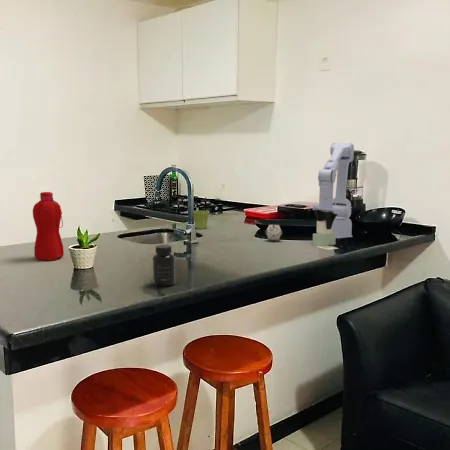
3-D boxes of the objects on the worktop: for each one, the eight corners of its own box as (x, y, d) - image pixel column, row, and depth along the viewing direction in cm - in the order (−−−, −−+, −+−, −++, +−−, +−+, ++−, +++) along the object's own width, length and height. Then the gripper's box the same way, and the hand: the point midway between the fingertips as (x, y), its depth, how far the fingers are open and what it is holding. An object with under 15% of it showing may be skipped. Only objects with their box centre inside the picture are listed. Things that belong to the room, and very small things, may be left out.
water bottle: (56, 262, 186) (53, 193, 182) (31, 260, 189) (27, 192, 185) (71, 257, 195) (68, 191, 191) (46, 255, 198) (43, 190, 194)
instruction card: (325, 245, 222) (325, 244, 222) (338, 248, 215) (338, 248, 215) (315, 246, 219) (315, 246, 219) (328, 250, 212) (328, 249, 212)
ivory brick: (324, 231, 225) (324, 220, 224) (331, 233, 221) (331, 221, 220) (316, 232, 222) (316, 221, 222) (323, 234, 219) (324, 222, 218)
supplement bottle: (153, 281, 162) (153, 244, 160) (175, 280, 162) (175, 243, 160) (152, 287, 155) (151, 248, 153) (175, 286, 155) (174, 248, 154)
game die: (276, 248, 233) (287, 230, 234) (276, 245, 224) (288, 226, 226) (259, 238, 234) (271, 220, 236) (259, 234, 226) (271, 216, 227)
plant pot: (209, 229, 259) (209, 212, 258) (190, 229, 260) (190, 212, 258) (209, 226, 269) (209, 210, 267) (192, 226, 269) (192, 210, 267)
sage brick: (328, 243, 227) (328, 232, 227) (335, 244, 223) (335, 232, 223) (312, 245, 222) (312, 233, 222) (319, 246, 218) (319, 234, 218)
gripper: (307, 196, 224) (306, 226, 226) (330, 199, 211) (329, 231, 213) (320, 195, 227) (318, 225, 229) (343, 198, 215) (341, 230, 217)
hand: (324, 228), depth 222 cm, fingers closed on ivory brick, 4 cm apart
